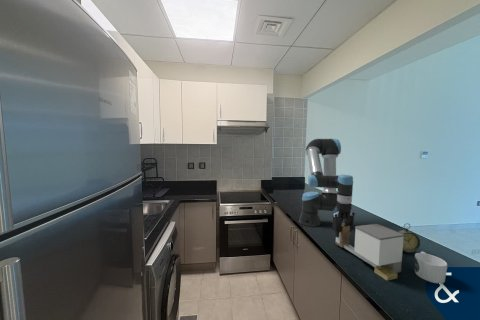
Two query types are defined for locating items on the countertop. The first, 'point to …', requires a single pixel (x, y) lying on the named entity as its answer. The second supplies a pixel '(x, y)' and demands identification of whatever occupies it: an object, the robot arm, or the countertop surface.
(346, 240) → the brown block grey strip
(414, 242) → the alarm clock
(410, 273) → the countertop surface
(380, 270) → the yellow sponge
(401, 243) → the toe kick cabinet
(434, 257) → the mug
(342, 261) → the countertop surface
